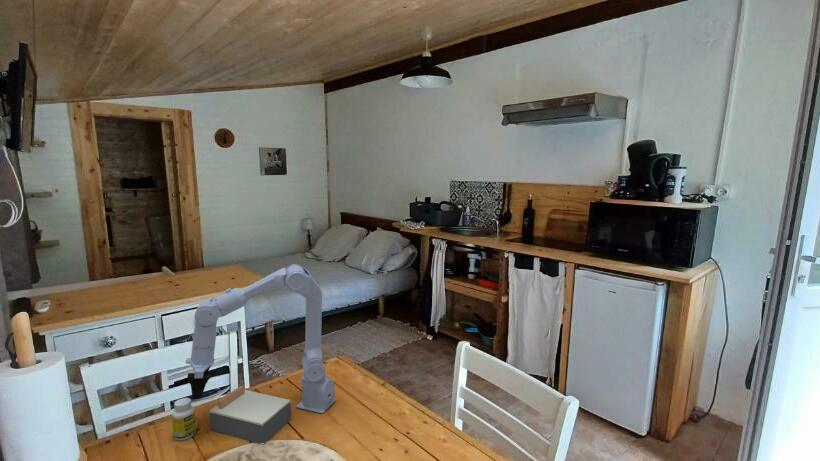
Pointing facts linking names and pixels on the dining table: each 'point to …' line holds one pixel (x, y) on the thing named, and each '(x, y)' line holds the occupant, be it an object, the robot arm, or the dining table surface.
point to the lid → (249, 406)
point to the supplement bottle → (183, 419)
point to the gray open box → (251, 426)
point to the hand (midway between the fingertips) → (198, 390)
